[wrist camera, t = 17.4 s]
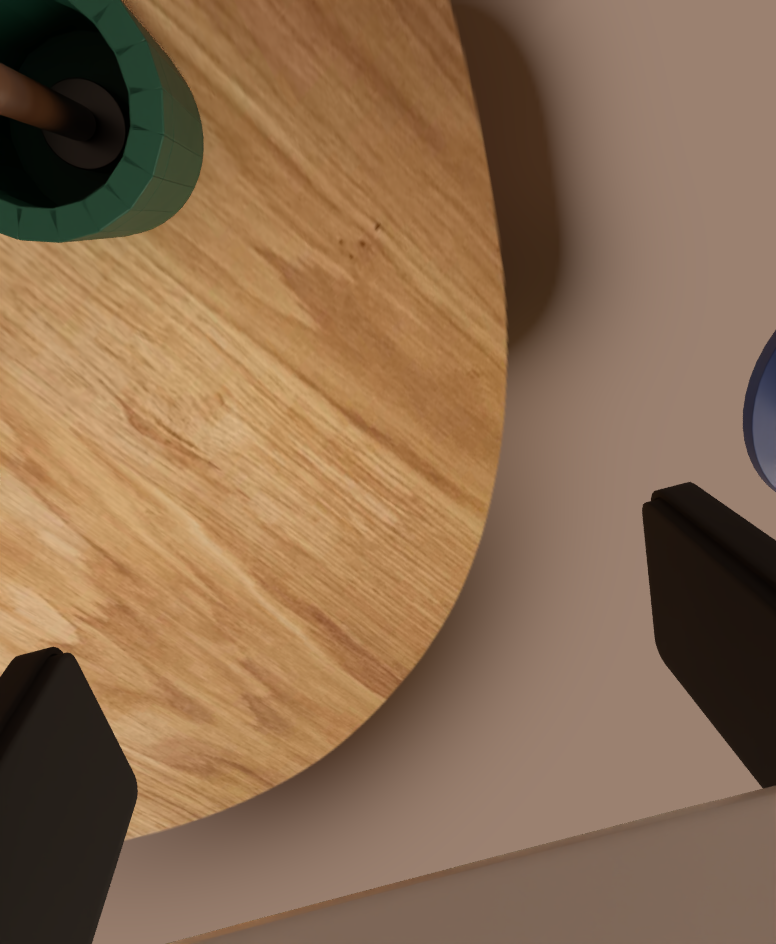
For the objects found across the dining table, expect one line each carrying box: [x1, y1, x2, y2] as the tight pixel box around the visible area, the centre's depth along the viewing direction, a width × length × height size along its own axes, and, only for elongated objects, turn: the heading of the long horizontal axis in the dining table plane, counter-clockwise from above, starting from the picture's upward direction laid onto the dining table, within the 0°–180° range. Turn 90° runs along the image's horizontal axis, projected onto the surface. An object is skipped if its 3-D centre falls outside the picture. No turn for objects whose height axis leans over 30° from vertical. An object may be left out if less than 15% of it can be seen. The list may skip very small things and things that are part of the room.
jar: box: [0, 0, 203, 243], centre depth 30 cm, size 10×10×11 cm
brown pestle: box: [0, 63, 130, 174], centre depth 27 cm, size 4×4×16 cm
